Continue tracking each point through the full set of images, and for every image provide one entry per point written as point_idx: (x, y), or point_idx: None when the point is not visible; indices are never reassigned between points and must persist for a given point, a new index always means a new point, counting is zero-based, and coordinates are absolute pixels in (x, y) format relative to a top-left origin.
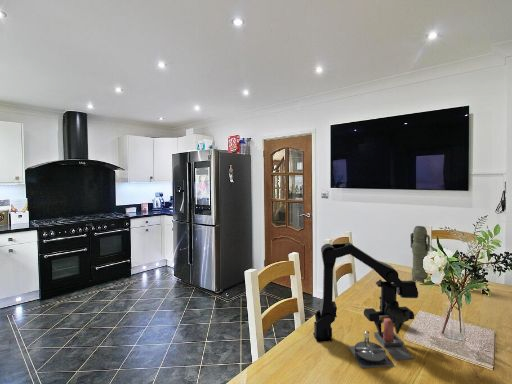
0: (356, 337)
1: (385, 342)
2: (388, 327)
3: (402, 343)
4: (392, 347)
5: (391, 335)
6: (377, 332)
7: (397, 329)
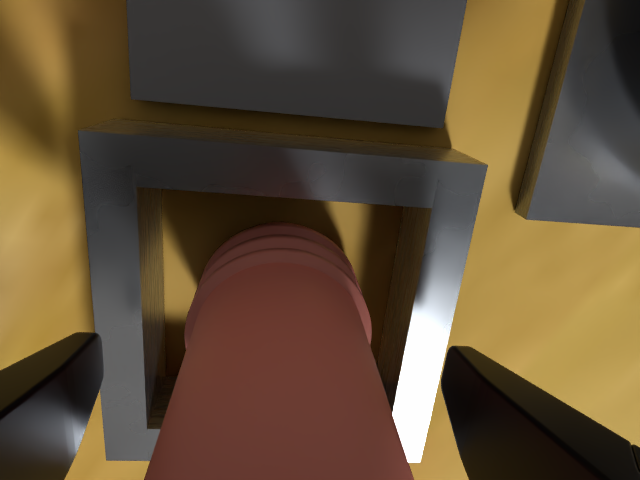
0: (625, 420)
1: (451, 179)
2: (367, 436)
3: (115, 126)
4: (334, 114)
5: (273, 286)
6: None
7: (45, 399)
